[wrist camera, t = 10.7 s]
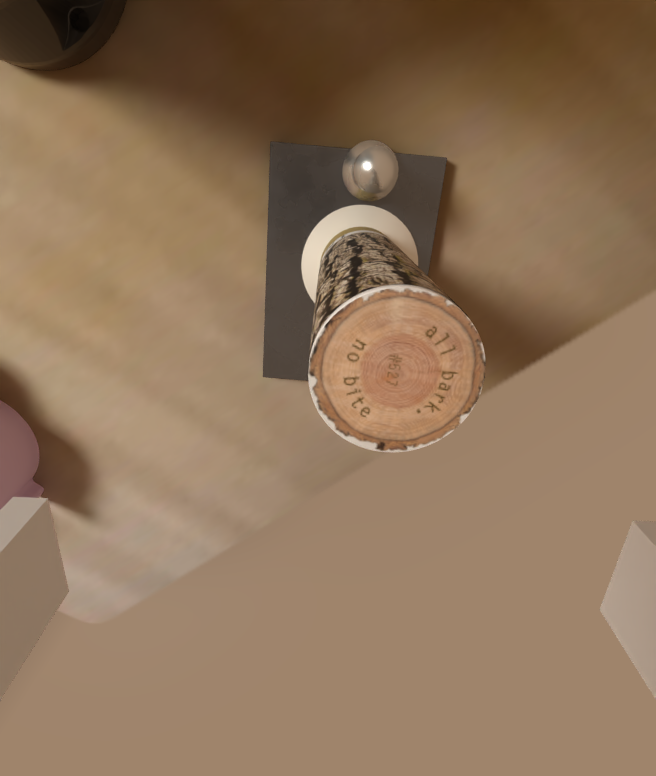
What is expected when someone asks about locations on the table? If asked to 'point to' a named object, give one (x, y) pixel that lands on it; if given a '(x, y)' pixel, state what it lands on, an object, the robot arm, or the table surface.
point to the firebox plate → (300, 216)
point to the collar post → (370, 170)
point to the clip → (17, 457)
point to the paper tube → (389, 348)
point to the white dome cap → (343, 221)
